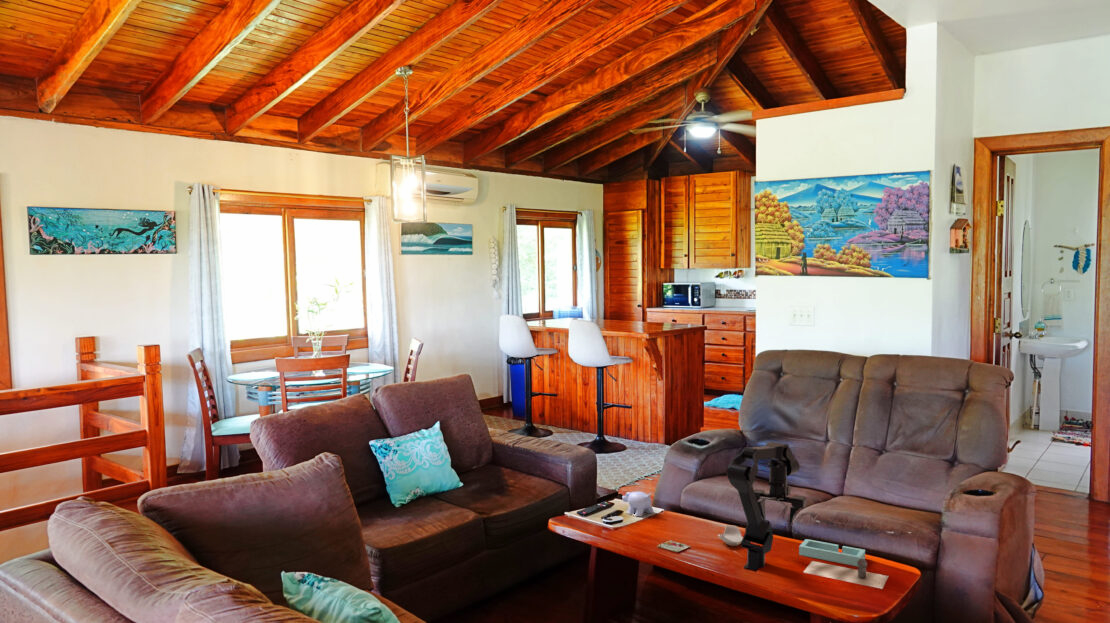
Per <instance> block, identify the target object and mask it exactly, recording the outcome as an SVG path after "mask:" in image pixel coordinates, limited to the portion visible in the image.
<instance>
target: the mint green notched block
mask: <svg viewBox="0 0 1110 623" xmlns="http://www.w3.org/2000/svg"><path fill="white" fill-rule="evenodd" d="M839 546H840V545H839V544H835V543H830V542H824V541H818V540H813V539H810V538H809V539H807V538H805V539H804V540H803V541H802V542H801V543H800V545H799V546H798V554H799V556H802V557H807V558H813V559H818V560H822V561H828V562H833V563H839V564H843V565H848V566H853V567H858V565H857V561H858V560H859V559H864V560H866V549H863V548H856V547H851V546H847V545H846V546H845V545H843V546H842V547H841V552H840V551H839V548H840V547H839Z"/></svg>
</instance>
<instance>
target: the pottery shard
mask: <svg viewBox="0 0 1110 623" xmlns="http://www.w3.org/2000/svg"><path fill="white" fill-rule="evenodd" d="M717 537H719V539H720V540H721V541H723V542H724V543H725V544H726V545H729V546H732V547H737V546H739V545H741V541H742V539H743V535H742V532H741V530H740V529H739V528H738V526H737V525H732V524H731V525H729V524H725V529H724V531H723V533H722V534H721V533H720V534H717Z"/></svg>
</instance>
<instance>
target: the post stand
mask: <svg viewBox="0 0 1110 623" xmlns="http://www.w3.org/2000/svg"><path fill="white" fill-rule="evenodd" d="M857 565H858V566H857V569H854V568H849V567H845V566H839V565H834V564H829V563H824V562H820V561H816V560H815V561H814V560H811V561H810V562H809V564H808V566H807V567H806V568H805V569H804V570H803V573H804V574H809V575H814V576H818V577H824V578H828V579H829V578H830V579H833V580H838V581H843V582H847V583H852V584H856V585H857V584H858V585H861V586H866V587H871V588H877V589H881V590H883V589H884V587H885V585H886V582H887V580H888V579H889V575H885V574H880V573H875V572H869V571H867V567H868V562H867V560H866V559H865V560H864V559H859V560H858V561H857Z"/></svg>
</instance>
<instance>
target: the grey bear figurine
mask: <svg viewBox="0 0 1110 623" xmlns="http://www.w3.org/2000/svg"><path fill="white" fill-rule="evenodd" d="M652 494H653V492H650V493H645V492H643V491H638V490H637V491H628V492H626V493H625V494H624V495H622V496H621V498H622V499H621V500H622V502H624V503H627V504H629V507H628V510H627V511H626V512H627V513H630V514H629V515H632V516H633V515H635V516H634V517H636V516H641V517H642V516H643V515H644V513H647V514H653V513H654V508H653V505H652V498H651V495H652ZM634 513H635V514H634Z"/></svg>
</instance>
